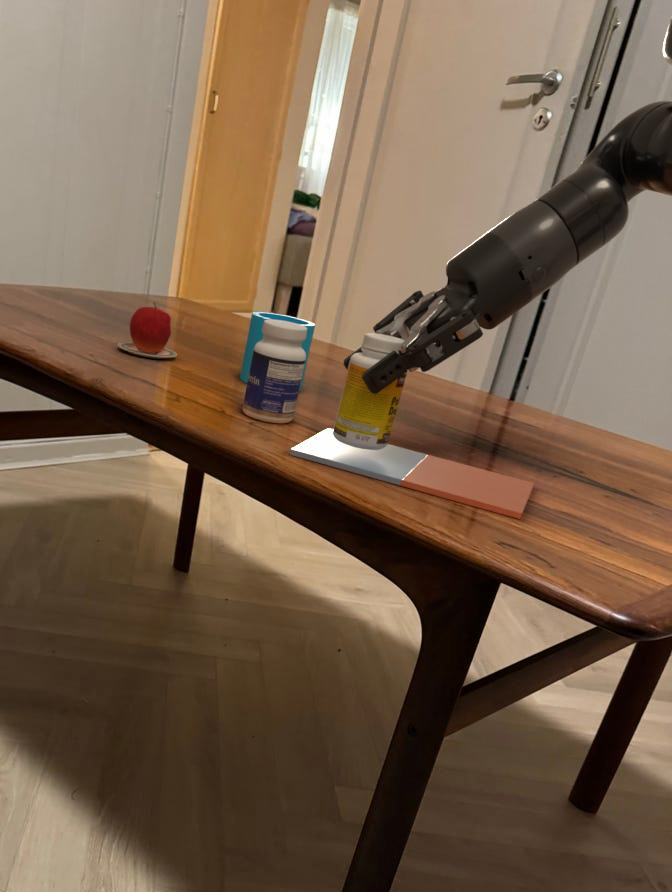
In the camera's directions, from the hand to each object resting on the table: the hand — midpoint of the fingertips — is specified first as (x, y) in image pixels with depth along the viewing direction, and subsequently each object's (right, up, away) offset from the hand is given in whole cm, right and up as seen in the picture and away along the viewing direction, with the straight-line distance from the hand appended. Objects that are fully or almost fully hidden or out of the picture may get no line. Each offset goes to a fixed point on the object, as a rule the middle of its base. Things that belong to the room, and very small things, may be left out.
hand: (358, 377), depth 87 cm
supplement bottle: (+1, -6, +3) cm, 7 cm away
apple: (-22, +13, +35) cm, 44 cm away
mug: (-5, +9, +33) cm, 34 cm away
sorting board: (+6, -9, +2) cm, 11 cm away
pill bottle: (-8, -1, +13) cm, 15 cm away
